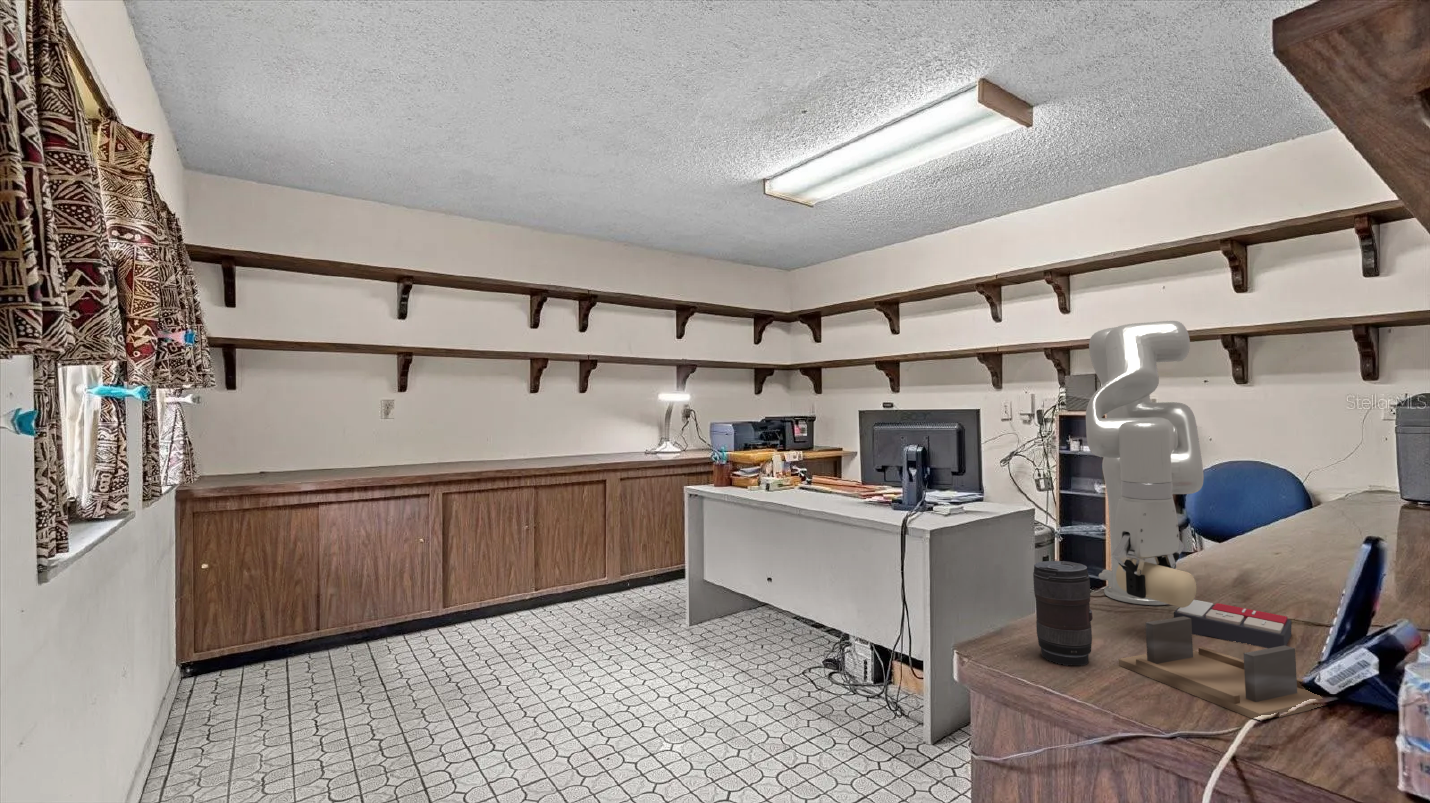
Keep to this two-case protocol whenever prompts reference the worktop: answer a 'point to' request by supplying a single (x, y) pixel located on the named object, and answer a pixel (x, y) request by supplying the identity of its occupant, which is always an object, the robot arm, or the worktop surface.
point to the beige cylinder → (1164, 584)
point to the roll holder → (1221, 671)
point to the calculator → (1237, 624)
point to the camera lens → (1063, 611)
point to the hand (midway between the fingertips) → (1150, 592)
